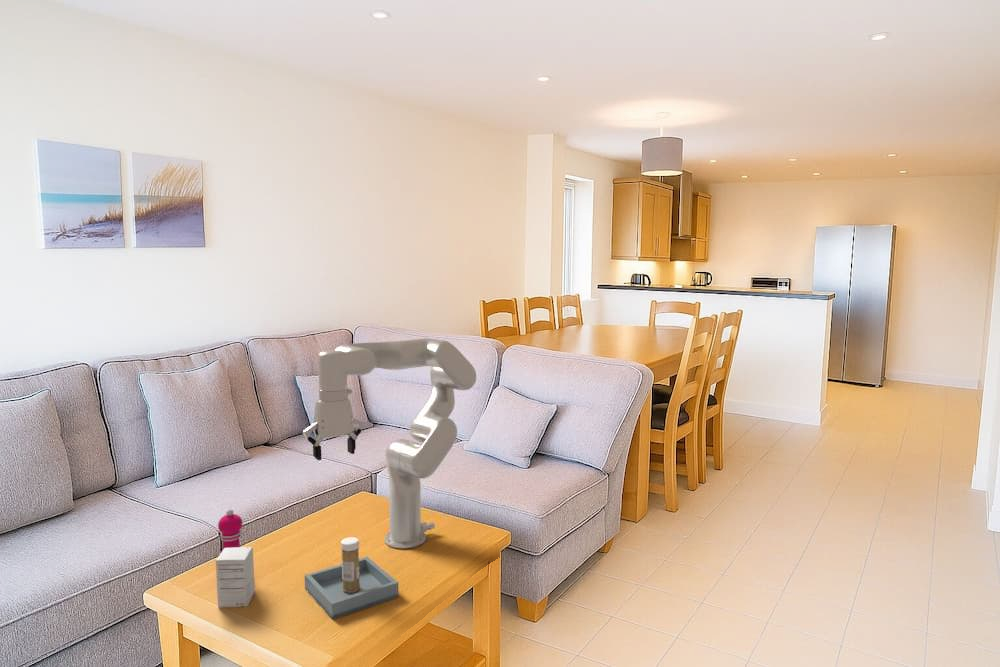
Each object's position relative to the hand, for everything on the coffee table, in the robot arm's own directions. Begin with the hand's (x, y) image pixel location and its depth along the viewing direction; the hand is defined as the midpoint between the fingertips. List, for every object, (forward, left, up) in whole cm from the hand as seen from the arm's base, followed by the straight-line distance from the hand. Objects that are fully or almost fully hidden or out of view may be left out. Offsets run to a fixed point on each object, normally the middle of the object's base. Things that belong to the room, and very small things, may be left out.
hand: (334, 455), depth 184 cm
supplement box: (+28, +2, -32) cm, 43 cm away
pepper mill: (+26, -9, -32) cm, 43 cm away
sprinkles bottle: (+3, +16, -32) cm, 35 cm away
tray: (+3, +16, -32) cm, 36 cm away
